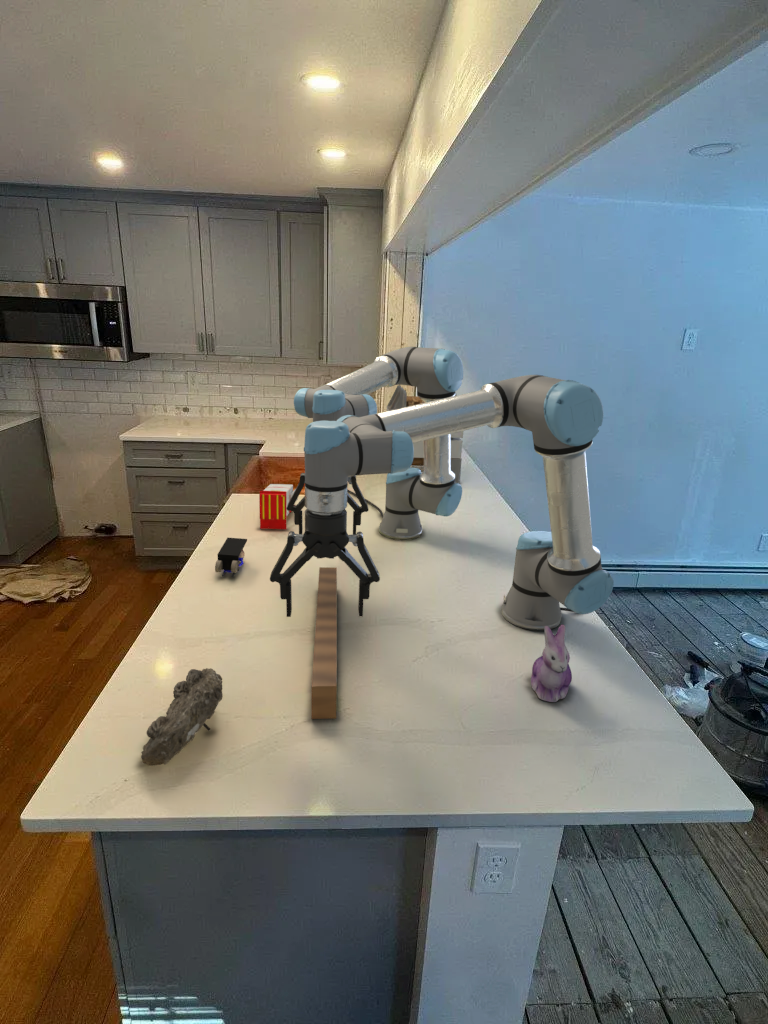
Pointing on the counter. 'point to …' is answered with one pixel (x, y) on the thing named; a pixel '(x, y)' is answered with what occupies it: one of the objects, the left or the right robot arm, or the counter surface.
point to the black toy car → (230, 556)
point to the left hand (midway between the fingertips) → (327, 536)
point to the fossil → (183, 716)
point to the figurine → (552, 668)
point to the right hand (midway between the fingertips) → (325, 613)
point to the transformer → (403, 401)
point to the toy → (275, 506)
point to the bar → (325, 647)
